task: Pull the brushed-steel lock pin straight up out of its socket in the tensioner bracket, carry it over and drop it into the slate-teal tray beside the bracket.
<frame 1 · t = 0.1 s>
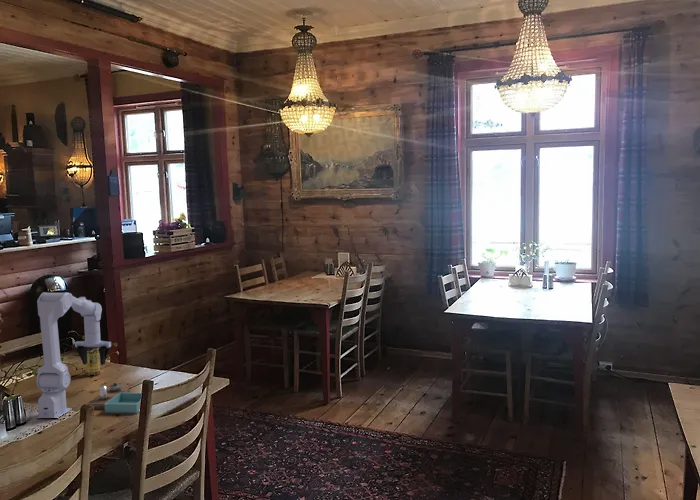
hand: (94, 364, 233), 10 cm above the table, tool pointing down, fingers open, 7 cm apart
lock pin: (103, 404, 216), resting in tensioner bracket
tensioner bracket: (109, 400, 220), on the table
sauce bottle: (93, 375, 252), on the table
tray: (128, 407, 212), on the table
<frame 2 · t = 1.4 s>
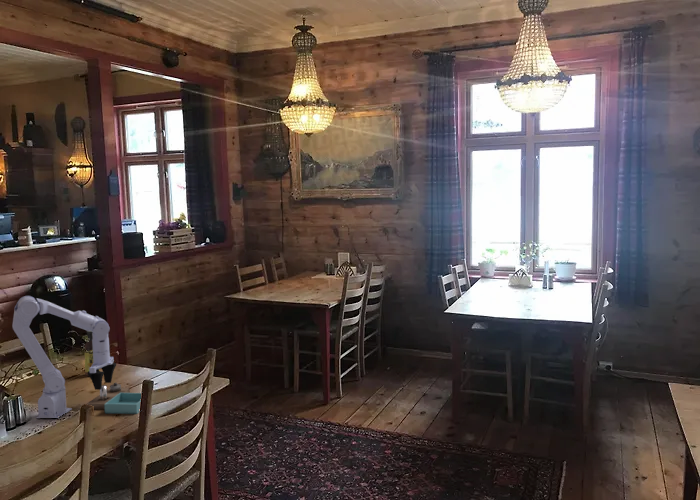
hand: (103, 385, 215), 7 cm above the table, tool pointing down, fingers open, 7 cm apart
nothing on the table moved.
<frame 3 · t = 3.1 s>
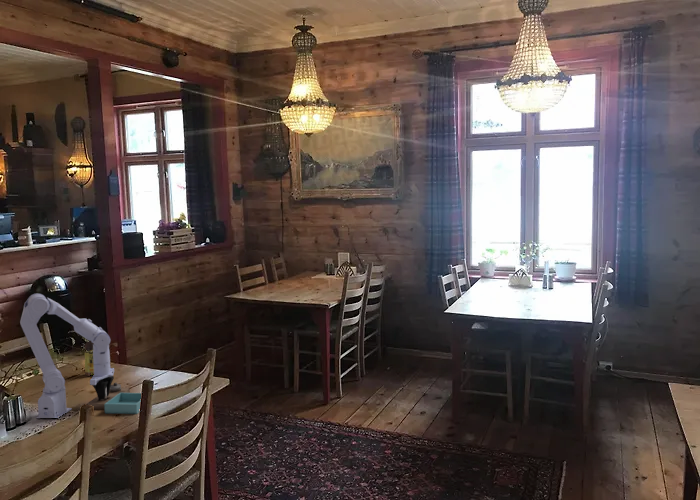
hand: (103, 397, 215), 3 cm above the table, tool pointing down, fingers closed on lock pin, 2 cm apart
lock pin: (103, 404, 216), resting in tensioner bracket, touching gripper
everything else where it was.
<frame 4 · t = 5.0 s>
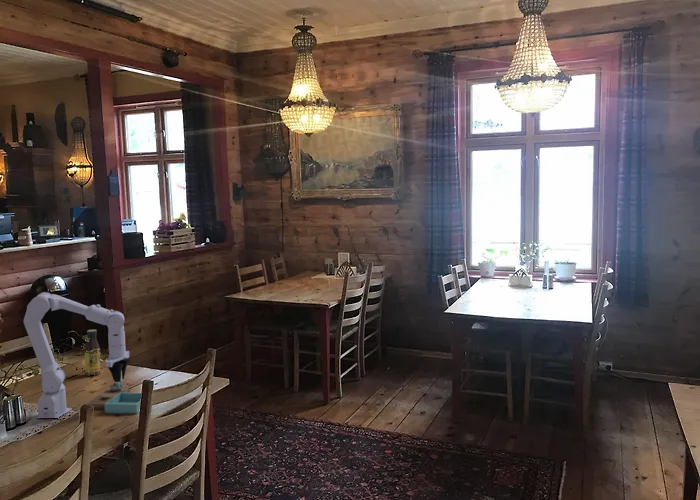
hand: (119, 380, 212), 10 cm above the table, tool pointing down, fingers closed on lock pin, 2 cm apart
lock pin: (119, 387, 213), point 7 cm above the table, touching gripper
everything else where it was.
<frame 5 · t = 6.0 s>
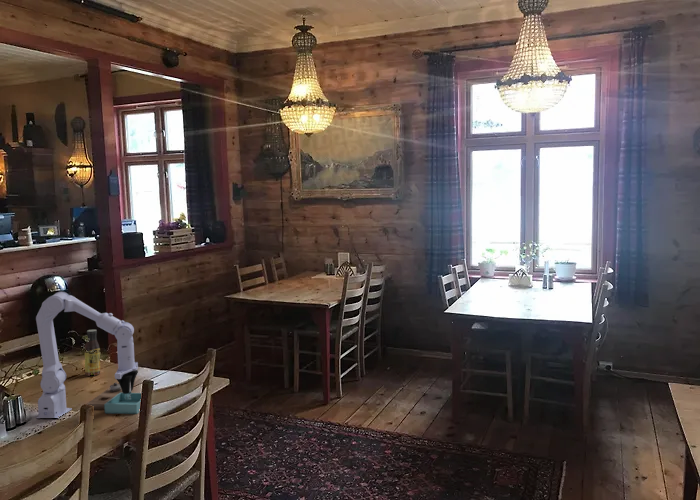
hand: (127, 391, 211), 6 cm above the table, tool pointing down, fingers closed on lock pin, 2 cm apart
lock pin: (128, 398, 212), point 3 cm above the table, touching gripper
everything else where it was.
when the fingers open (5 cm above the table, at t = 6.9 s): lock pin drops 1 cm, resting on tray.
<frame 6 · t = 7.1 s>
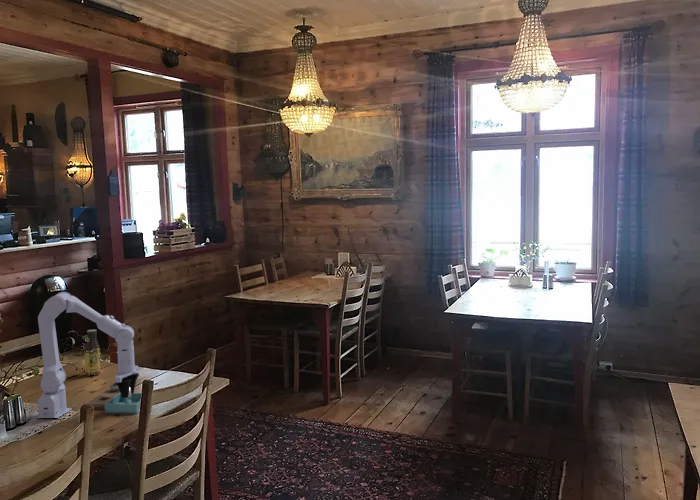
hand: (127, 395, 212), 5 cm above the table, tool pointing down, fingers open, 4 cm apart
lock pin: (128, 405, 212), point 1 cm above the table, touching tray
everything else where it was.
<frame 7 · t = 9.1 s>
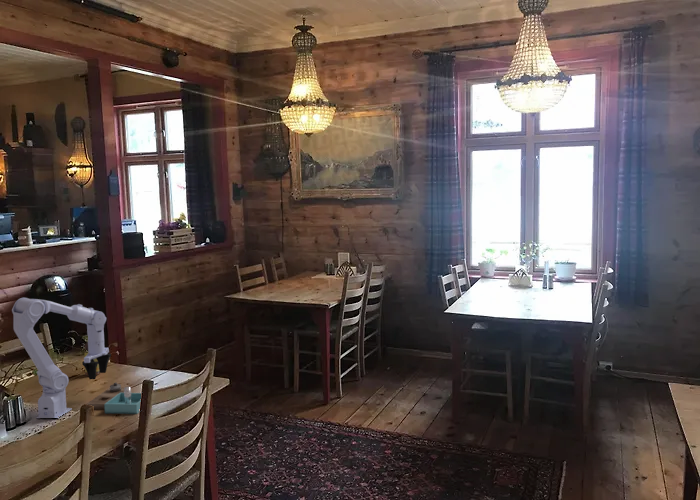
hand: (97, 375, 220), 9 cm above the table, tool pointing down, fingers open, 7 cm apart
nothing on the table moved.
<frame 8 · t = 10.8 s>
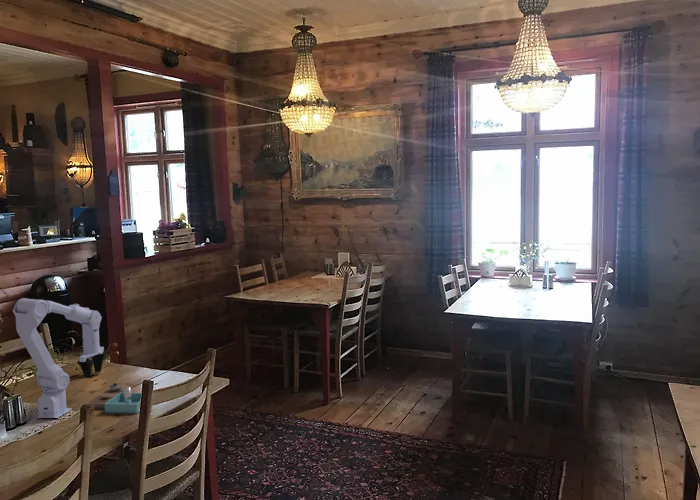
hand: (93, 374, 221), 9 cm above the table, tool pointing down, fingers open, 7 cm apart
nothing on the table moved.
at the end: lock pin inside the target area on the tray (0.0 cm from its centre), point 0.6 cm above the tray's base; the gripper is holding nothing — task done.
